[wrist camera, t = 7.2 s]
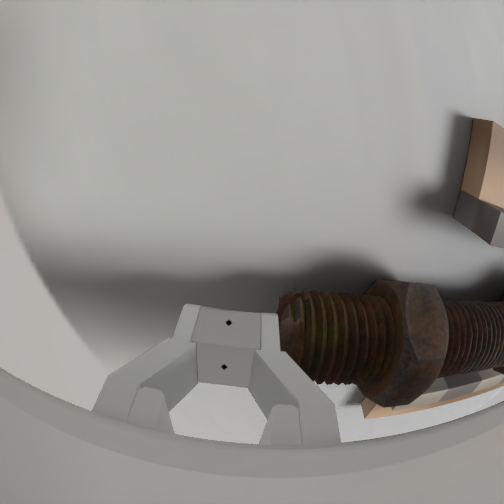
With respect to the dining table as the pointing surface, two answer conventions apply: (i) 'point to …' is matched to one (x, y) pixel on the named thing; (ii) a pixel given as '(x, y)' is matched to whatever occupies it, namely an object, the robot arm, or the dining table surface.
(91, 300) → the dining table surface
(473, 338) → the bolt
